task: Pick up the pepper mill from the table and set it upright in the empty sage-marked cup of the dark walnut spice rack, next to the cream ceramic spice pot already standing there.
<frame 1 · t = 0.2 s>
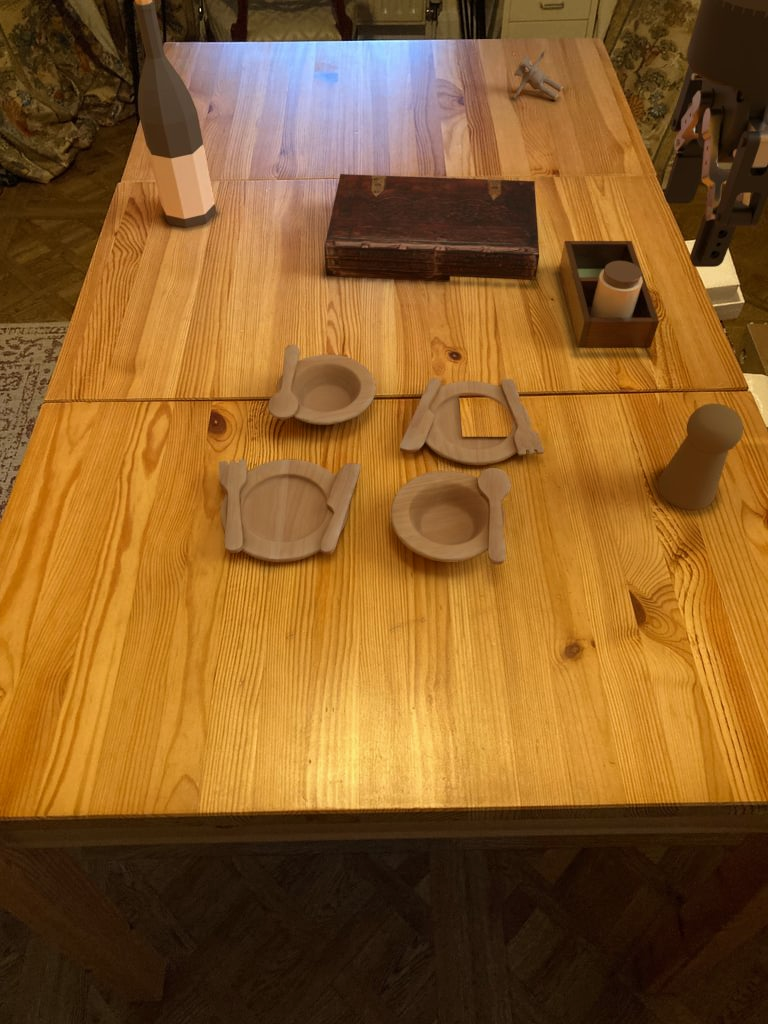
hand: (690, 231, 58), 31 cm above the table, tool pointing down, fingers open, 8 cm apart
tableware set: (383, 468, 86), on the table
rack: (601, 310, 103), on the table
pepper mill: (685, 489, 84), on the table
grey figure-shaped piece: (536, 94, 143), on the table
wine bottle: (190, 215, 118), on the table
spice pot: (608, 324, 99), point 1 cm above the table, touching rack
hardback book: (432, 244, 113), on the table
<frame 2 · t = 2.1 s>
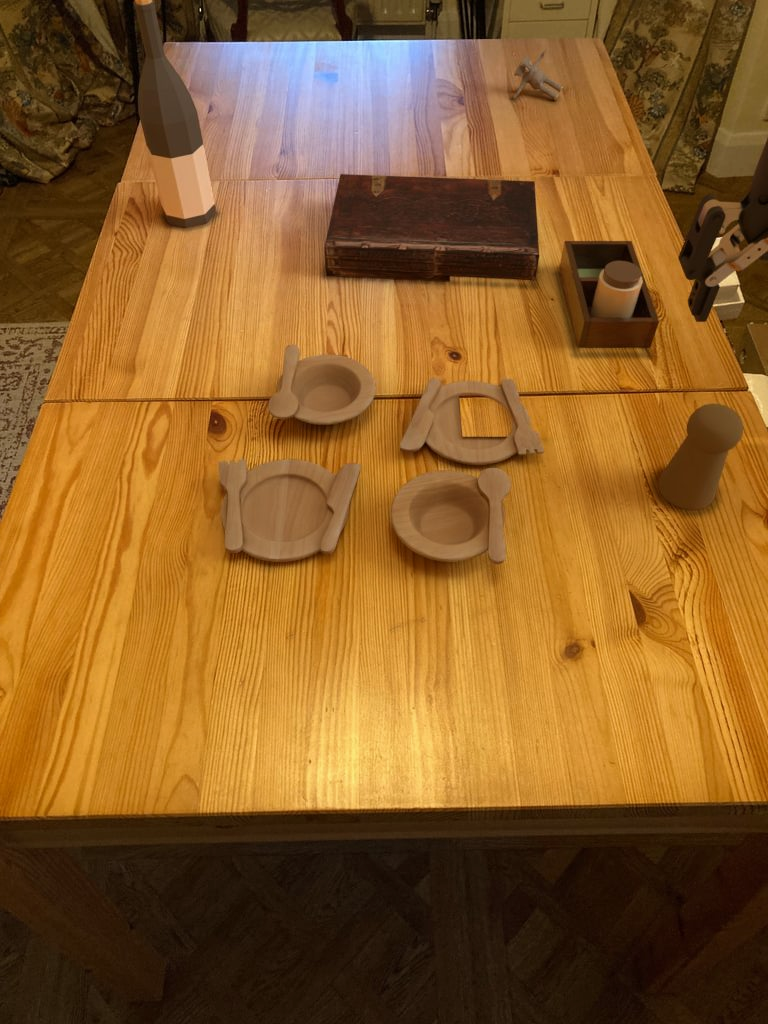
hand: (748, 316, 66), 23 cm above the table, tool pointing down, fingers open, 8 cm apart
nothing on the table moved.
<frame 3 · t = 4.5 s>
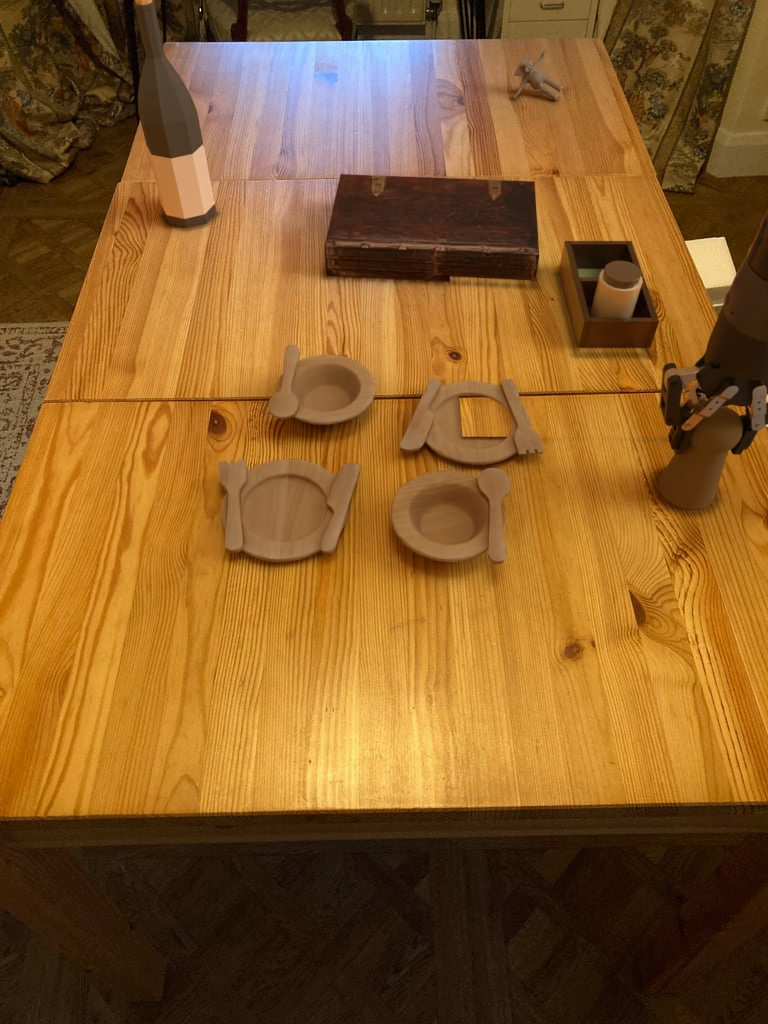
hand: (705, 447, 78), 6 cm above the table, tool pointing down, fingers closed on pepper mill, 5 cm apart
pepper mill: (685, 489, 84), on the table, touching gripper
everything else where it was.
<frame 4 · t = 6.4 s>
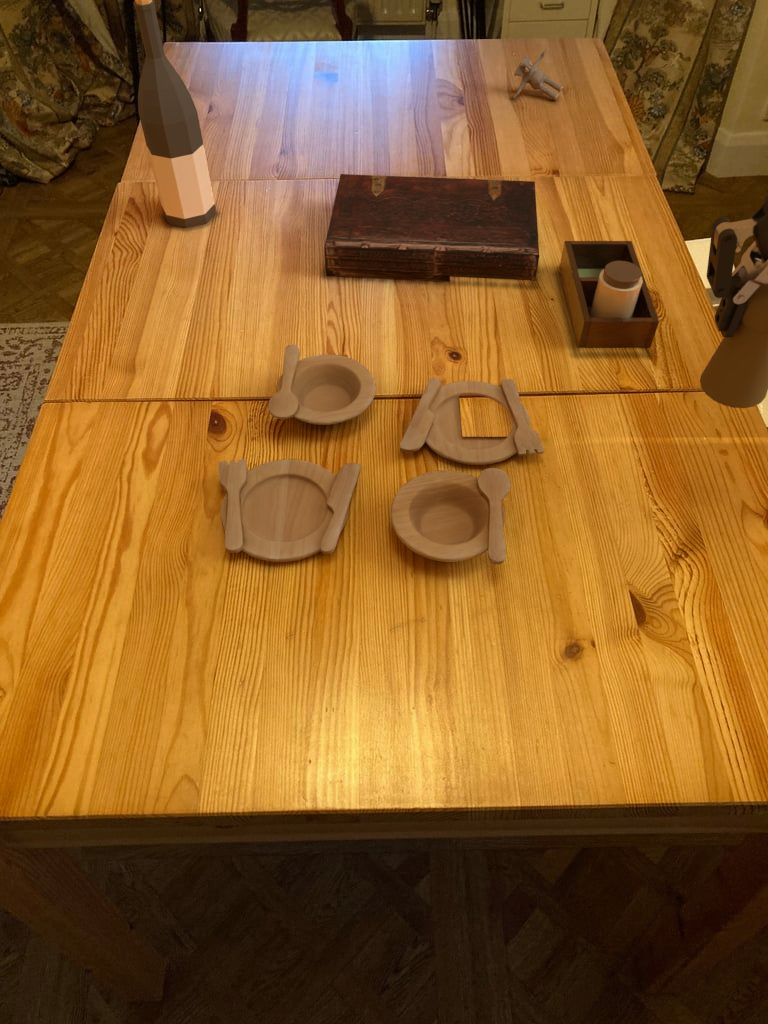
hand: (758, 330, 67), 21 cm above the table, tool pointing down, fingers closed on pepper mill, 5 cm apart
pepper mill: (732, 387, 72), point 14 cm above the table, touching gripper
everything else where it was.
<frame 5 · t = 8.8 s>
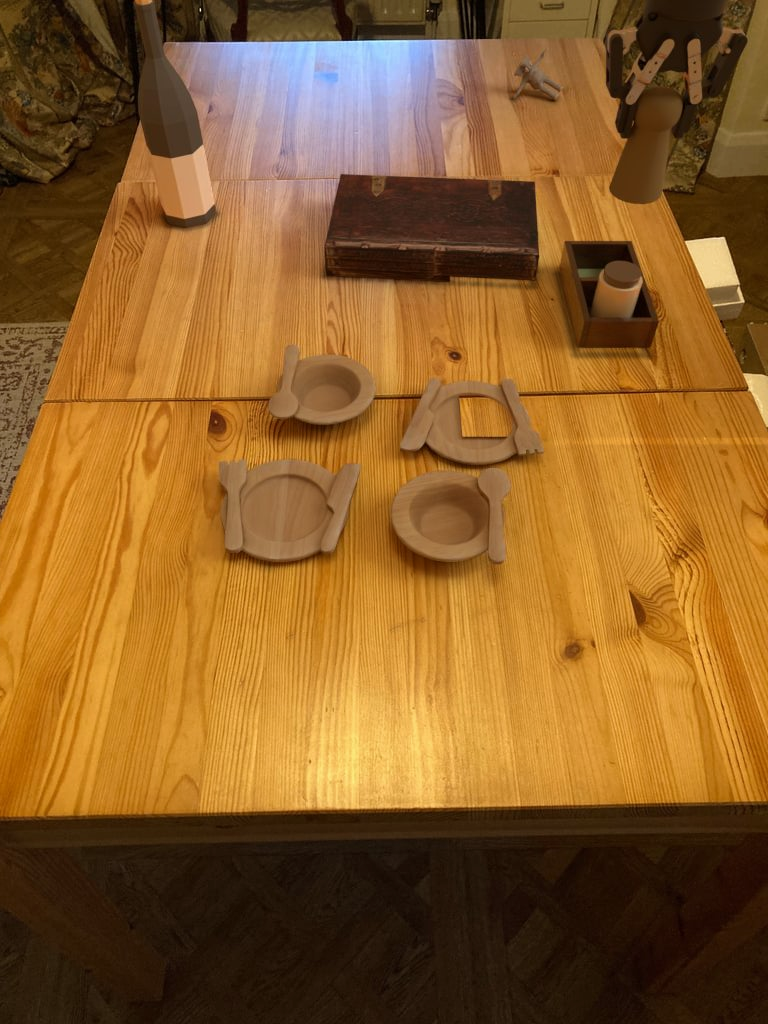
hand: (650, 134, 84), 23 cm above the table, tool pointing down, fingers closed on pepper mill, 5 cm apart
pepper mill: (634, 191, 89), point 17 cm above the table, touching gripper
everything else where it was.
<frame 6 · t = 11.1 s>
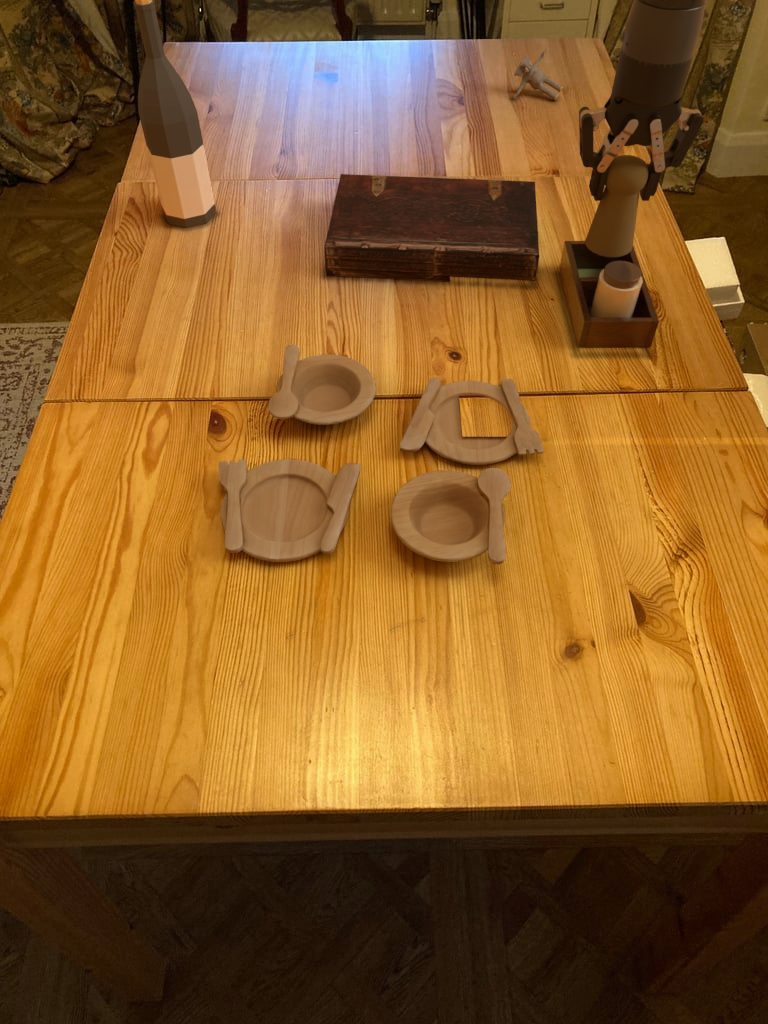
hand: (620, 196, 94), 14 cm above the table, tool pointing down, fingers closed on pepper mill, 5 cm apart
pepper mill: (608, 245, 99), point 7 cm above the table, touching gripper
everything else where it was.
when the fingers open (8 cm above the table, at t = 13.1 s): pepper mill stays where it is, resting on rack.
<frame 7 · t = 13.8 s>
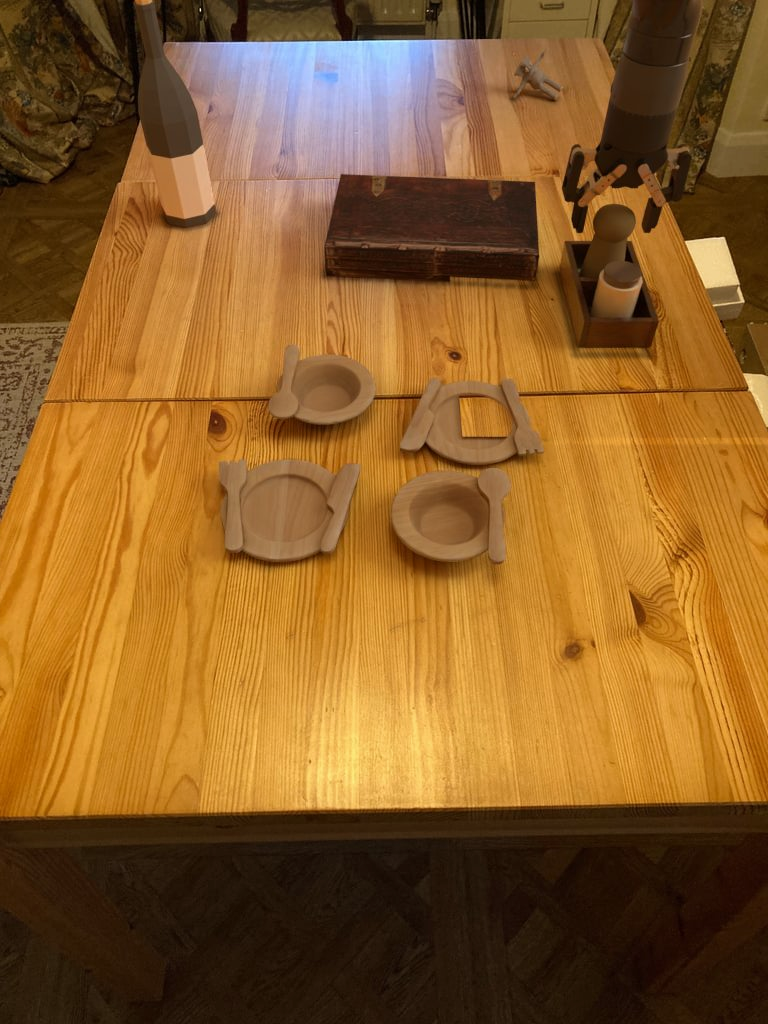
hand: (612, 229, 98), 9 cm above the table, tool pointing down, fingers open, 8 cm apart
pepper mill: (598, 286, 104), point 1 cm above the table, touching rack
everything else where it was.
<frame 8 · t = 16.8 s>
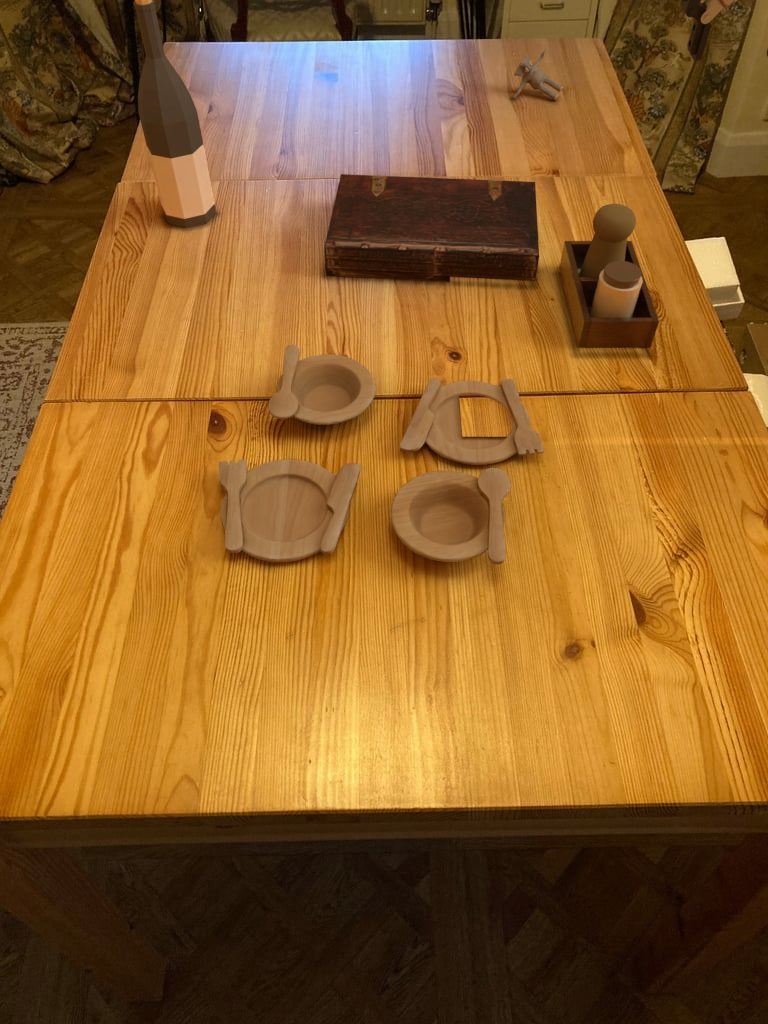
hand: (733, 58, 85), 28 cm above the table, tool pointing down, fingers open, 8 cm apart
nothing on the table moved.
at the end: pepper mill 0.2 cm from the target spot in the rack, point 1.0 cm above the rack's base; pepper mill tilted 0° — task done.
